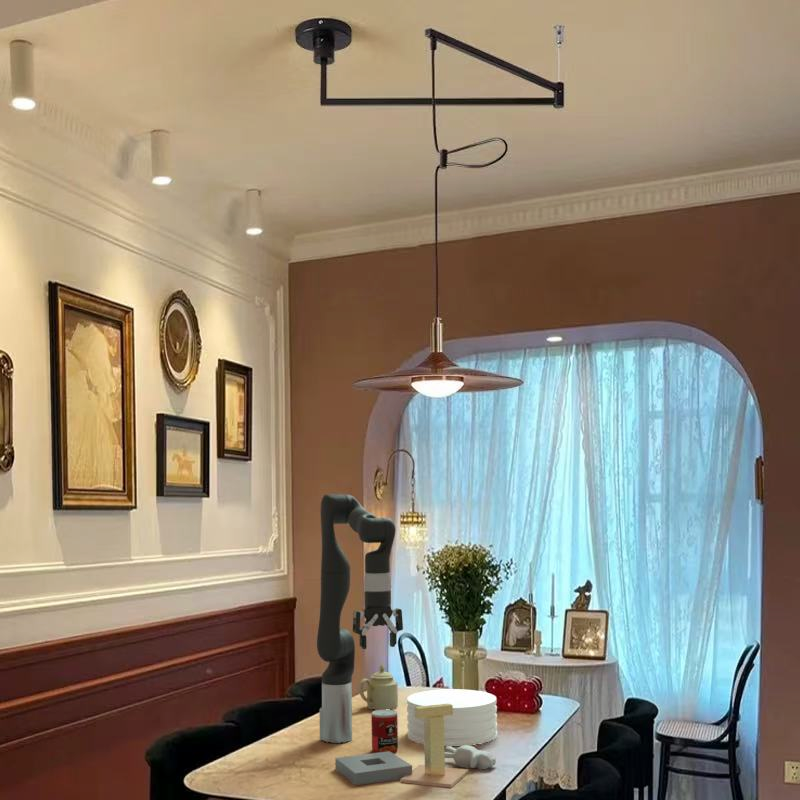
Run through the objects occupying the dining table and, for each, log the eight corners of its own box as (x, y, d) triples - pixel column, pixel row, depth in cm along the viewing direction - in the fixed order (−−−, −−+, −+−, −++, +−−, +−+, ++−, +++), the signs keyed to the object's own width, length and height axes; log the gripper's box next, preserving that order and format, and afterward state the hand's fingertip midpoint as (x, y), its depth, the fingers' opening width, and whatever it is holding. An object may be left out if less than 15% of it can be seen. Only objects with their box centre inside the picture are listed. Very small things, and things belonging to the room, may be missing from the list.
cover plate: (355, 785, 238) (355, 773, 239) (335, 769, 253) (335, 758, 253) (412, 777, 245) (412, 765, 245) (389, 762, 259) (389, 751, 260)
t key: (420, 778, 241) (419, 709, 243) (414, 774, 244) (413, 706, 246) (455, 773, 244) (453, 705, 246) (448, 769, 248) (447, 702, 250)
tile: (400, 782, 240) (400, 779, 241) (419, 767, 253) (419, 764, 253) (451, 787, 235) (451, 784, 235) (468, 772, 248) (468, 769, 248)
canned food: (379, 755, 266) (378, 716, 267) (367, 749, 273) (366, 711, 274) (402, 752, 270) (402, 713, 271) (390, 746, 277) (389, 708, 278)
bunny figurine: (488, 758, 247) (436, 746, 254) (486, 777, 247) (435, 765, 254) (499, 749, 256) (449, 738, 262) (498, 768, 256) (447, 756, 262)
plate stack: (465, 752, 269) (464, 711, 270) (389, 739, 286) (389, 700, 287) (514, 732, 291) (513, 695, 292) (441, 721, 308) (440, 685, 309)
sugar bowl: (386, 713, 319) (386, 669, 321) (357, 711, 323) (357, 667, 325) (402, 704, 333) (401, 662, 335) (374, 702, 337) (373, 660, 339)
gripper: (395, 586, 267) (396, 644, 265) (349, 589, 262) (349, 647, 260) (405, 588, 260) (406, 647, 258) (358, 591, 255) (358, 651, 253)
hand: (378, 647), depth 259 cm, fingers open, 8 cm apart
